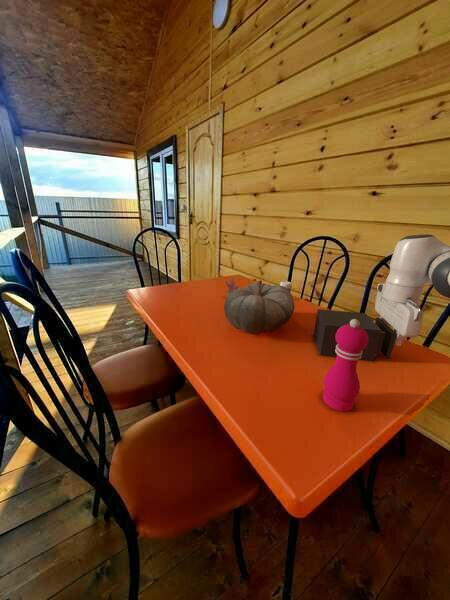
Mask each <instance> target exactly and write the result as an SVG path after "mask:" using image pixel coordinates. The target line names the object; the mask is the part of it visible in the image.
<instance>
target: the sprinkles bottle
mask: <svg viewBox="0 0 450 600" xmlns="http://www.w3.org/2000/svg"><path fill="white" fill-rule="evenodd" d="M279 286H284V287H286V288H287V289H288V290H289V292H290V293H291V292H292V288H293V283H292V282H291V281H286V280H285V281H284V280H283V281H280V282H279ZM291 294H292V293H291Z"/></svg>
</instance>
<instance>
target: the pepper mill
mask: <svg viewBox="0 0 450 600" xmlns="http://www.w3.org/2000/svg"><path fill="white" fill-rule="evenodd" d="M359 325H360V322H359V321H358V320H357V319H352V320H351V321H350V325H344V326H342V327H340V328H339V329H338V330H337V332H336V336H335V338H336V342H337V343H338V344H337V345H336V349H335V352H336V353H337V357H335V358H336V359H335V361H334V364H333V365H332V366H331V368H329V370H328V371H327V372H326V373H325V376H324V378H323V387H324V390H323V393H322V400H323V402H324V403H325V404H326V405H327V406H328V407H329V408H331V409H333V410H336V411H339V412H348V411H350V410H352V409H353V408H354V404H355V398H357V397H358V396H359V394H360V392H361V391H360V389H361V385H360V384H361V383H360V378H359V375H358V372H357V365H358V362H359V361H360V360H359V359H361V357H362V353H363V351H362V350H363V349H364V348H366V346H367V344H368V335H367V333H366V331H365V330H364V329H362V328H361V327H359Z"/></svg>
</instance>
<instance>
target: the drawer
mask: <svg viewBox="0 0 450 600" xmlns="http://www.w3.org/2000/svg"><path fill="white" fill-rule="evenodd" d="M370 319H371V320H372V321H373V322H374V323H375V324H376V325H377V326H378V327H379V328H380V329H381V330H382V331H381V334H380V338H379V342H378V346H377V350H376V354H375V356H380V355H381V354H382V356H383V357H384V358H385V359H387V360H391V357H392V354H393V350H394V347H395V345H394V344H395V340H396V337H397V330H395V329H394V330H393V329H392V328H391V326H389V325H388V323H387V324H386V323H385V322H384V321H383V320H382V319H381V318H380V317H376V318H375V321H374V318H370ZM405 341H406V338H405V339H404V340H403V341H402V343H403V342H405Z"/></svg>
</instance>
